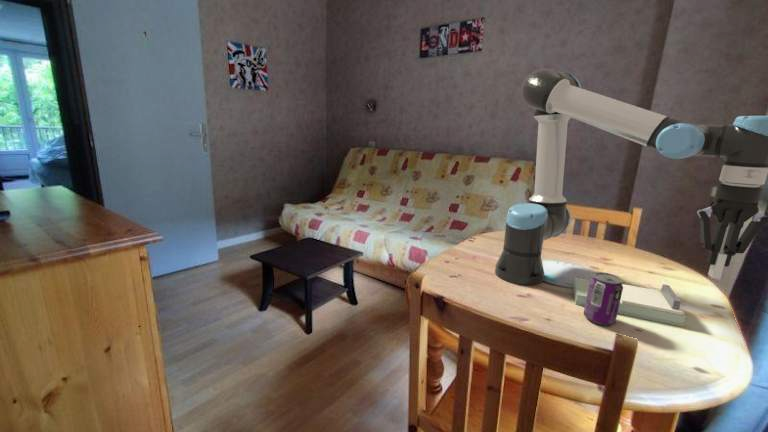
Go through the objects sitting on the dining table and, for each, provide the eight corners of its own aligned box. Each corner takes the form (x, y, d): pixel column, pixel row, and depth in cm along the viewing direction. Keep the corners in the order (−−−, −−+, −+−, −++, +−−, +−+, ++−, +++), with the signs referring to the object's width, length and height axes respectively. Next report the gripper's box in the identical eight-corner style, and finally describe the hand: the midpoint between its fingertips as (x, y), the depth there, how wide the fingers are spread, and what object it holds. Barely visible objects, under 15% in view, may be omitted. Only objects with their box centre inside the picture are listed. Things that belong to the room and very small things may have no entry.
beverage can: (619, 329, 85) (630, 285, 82) (588, 325, 86) (597, 281, 83) (607, 314, 92) (617, 272, 88) (579, 310, 93) (587, 270, 90)
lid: (621, 303, 91) (624, 292, 90) (614, 285, 101) (616, 275, 101) (682, 315, 86) (686, 303, 85) (668, 295, 96) (671, 284, 95)
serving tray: (575, 304, 96) (577, 294, 95) (572, 286, 107) (574, 277, 106) (682, 326, 87) (685, 316, 86) (668, 304, 97) (670, 295, 96)
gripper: (710, 184, 79) (686, 277, 86) (788, 189, 74) (756, 288, 80) (698, 179, 86) (676, 266, 92) (769, 184, 81) (740, 276, 87)
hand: (713, 276), depth 86 cm, fingers closed
